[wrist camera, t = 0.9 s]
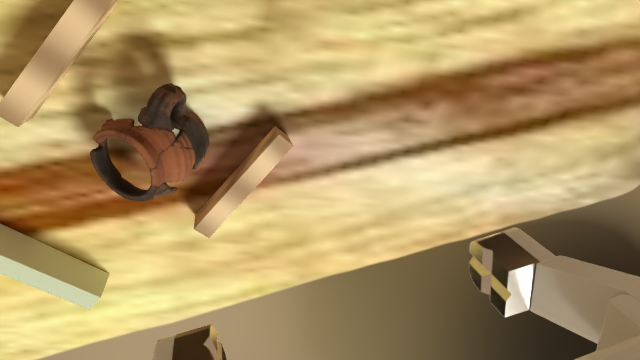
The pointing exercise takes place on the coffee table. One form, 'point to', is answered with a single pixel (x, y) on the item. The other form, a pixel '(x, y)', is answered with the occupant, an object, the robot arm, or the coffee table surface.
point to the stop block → (49, 269)
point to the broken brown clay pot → (155, 144)
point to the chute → (57, 58)
